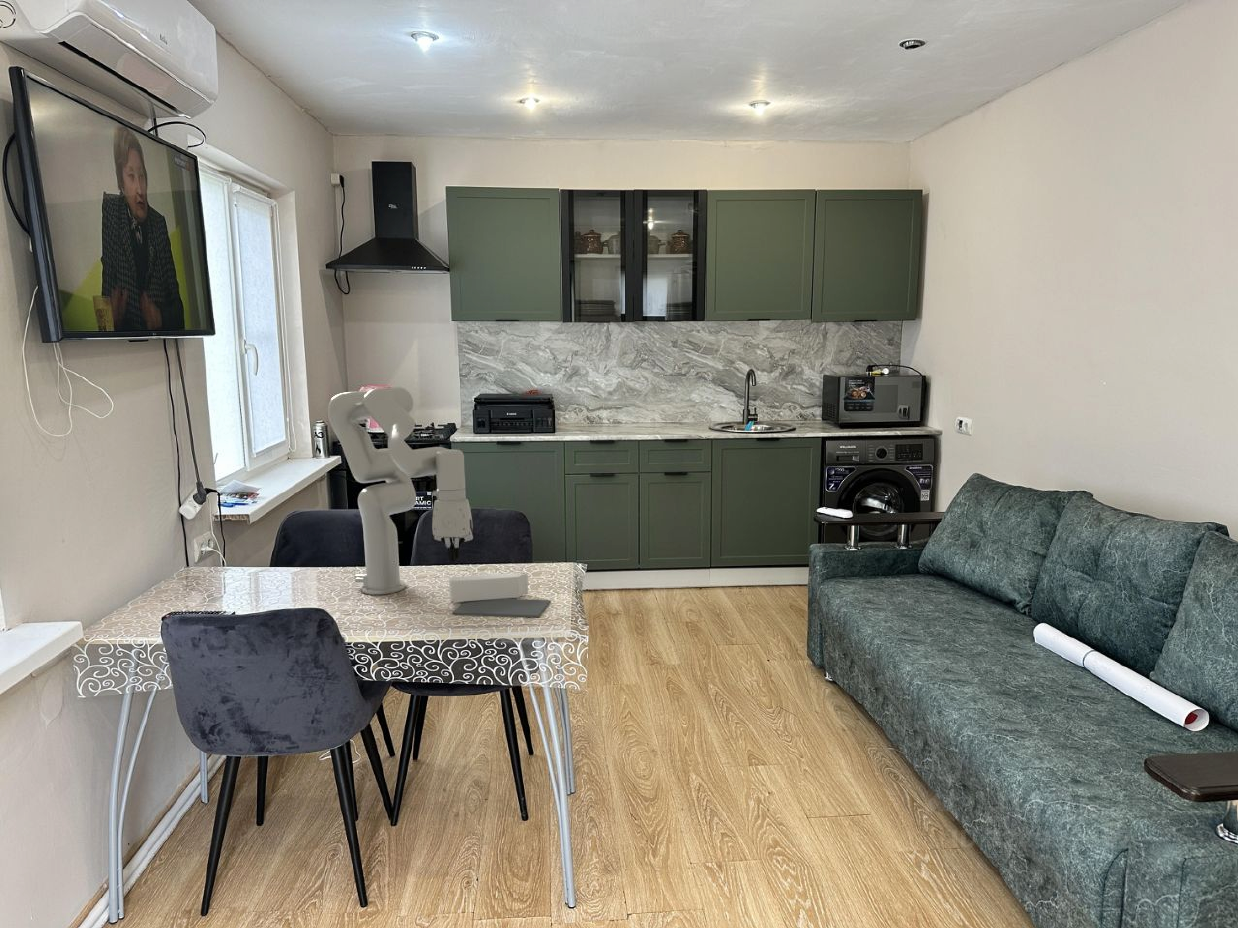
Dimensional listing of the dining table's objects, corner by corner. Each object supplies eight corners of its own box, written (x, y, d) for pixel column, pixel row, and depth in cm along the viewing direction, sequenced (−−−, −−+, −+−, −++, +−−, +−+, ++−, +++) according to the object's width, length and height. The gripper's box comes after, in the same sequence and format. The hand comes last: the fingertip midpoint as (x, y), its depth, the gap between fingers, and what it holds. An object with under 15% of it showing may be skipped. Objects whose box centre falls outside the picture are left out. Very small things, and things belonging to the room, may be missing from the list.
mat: (452, 614, 210) (451, 612, 210) (468, 599, 223) (468, 597, 223) (538, 617, 207) (538, 615, 207) (550, 602, 219) (550, 600, 219)
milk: (451, 602, 217) (529, 597, 224) (451, 580, 217) (529, 576, 223) (449, 597, 223) (525, 592, 229) (449, 576, 222) (525, 572, 229)
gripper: (419, 497, 210) (423, 563, 212) (473, 498, 208) (476, 565, 210) (430, 492, 217) (433, 556, 220) (482, 493, 215) (485, 557, 218)
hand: (454, 560), depth 215 cm, fingers closed
